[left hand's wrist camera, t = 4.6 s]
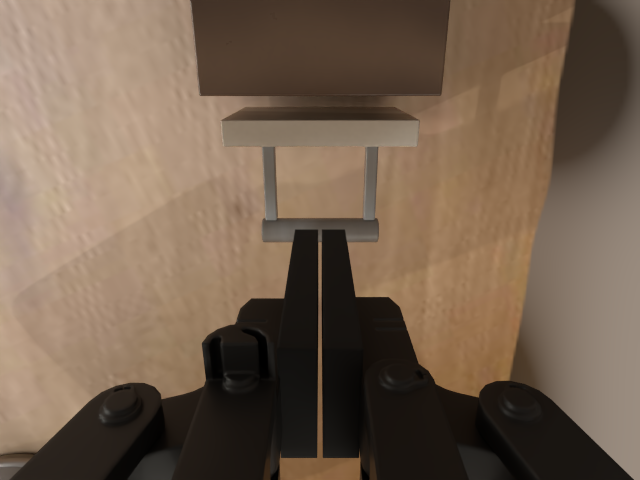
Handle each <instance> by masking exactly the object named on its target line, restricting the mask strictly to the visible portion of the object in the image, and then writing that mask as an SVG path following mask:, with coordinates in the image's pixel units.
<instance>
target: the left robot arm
mask: <svg viewBox="0 0 640 480" xmlns="http://www.w3.org/2000/svg"><path fill="white" fill-rule="evenodd" d="M202 348H203V357H204V365H205V374H206V382H205V385H204V387H202V388H199V389H197V390H195V391H193V392H190V393H186V394H183V395H179V396H174V397H170V398H166V399H161V394H160V393H159V392H158V390H157V389H156V388H155V387H153V386H151V385H148V384H145V383H127V384H123V385H118V386H115V387H112V388H110V389H108V390H106V391H104V392H101V393H100V394H99V395H97V396H96V397H95V398H93V399H92V400H91V401H89V402H88V403H87V404H86V405H85V406H84V407H83V408H82V409H81V410H80V411H79V412H78V413H77V414H76V415H75V416H74V417H73V418H72V419H71V420H70V421H69V422H68V423H67V424H66V425H65V426H64V427H63V428H62V429H61V430H60V431H59V432H58V433H57V434H56V435H55V436H53V437H52V438H51V439H50V440H49V441H48V442H47V443H46V444H45V445H44V446H43V447H42V448H41V449H40V450H39V451H38V452H37V453H36V454H35V455H33V454H7V455H1V456H0V480H280V464H279V461H280V452H281V458H317V405H318V229H295V233H294V239H293V246H292V252H291V258H290V265H289V271H288V278H287V284H286V291H285V297H284V299H250V300H249V301H248V302H247V303H246V304H245V305H244V306H243V307H242V308H240V311H239V314H238V317H237V322H236V324H235V325H229V326H226V327H223V328H220V329H217V330H216V331H214V332H213V333H211V334H209V335H208V336H207V337H206V339H205V340H204V341H203V343H202ZM322 404H323V458H359V449H360V459H361V464H360V480H634V479H633V478H631V476H629V475H628V474H627V473H626V472H625V471H624V470H623V469H622V468H621V467H620V466H619V465H618V464H617V463H616V462H615V461H614V460H613V459H612V458H611V457H610V456H609V455H608V454H607V453H606V452H605V451H604V450H603V449H602V448H601V447H600V446H599V445H597V444H596V443H595V442H594V441H593V440H592V439H591V438H590V437H589V436H588V435H587V434H586V433H585V432H584V431H583V430H582V429H581V428H580V427H579V426H578V425H577V424H576V423H575V422H574V421H573V420H572V419H571V418H570V417H569V416H568V415H567V414H565V412H563V411H562V410H561V409H560V408H559V407H558V406H557V405H556V404H555V403H554V402H553V401H552V400H551V399H550V398H548V397H547V396H546V395H544V394H543V393H542V392H540V391H539V390H537V389H534V388H532V387H530V386H528V385H525V384H522V383H517V382H512V381H495V382H493V383H490V384H487V385H485V387H484V388H483V389H482V390H481V391H480V394H479V398H478V397H474V396H469V395H465V394H460V393H456V392H453V391H450V390H447V389H444V388H442V387H440V386H438V385H436V384H435V381H434V379H433V377H432V376H431V374H430V373H429V371H428V370H426V369H425V368H424V367H422V366H421V365H419V364H418V361H417V358H416V355H415V352H414V349H413V346H412V343H411V340H410V337H409V334H408V331H407V328H406V325H405V322H404V321H403V316H402V313H401V310H400V307H399V306H398V305H397V304H396V303H395V302H393V301H392V300H391V299H390V298H389V297H355V291H354V284H353V278H352V271H351V265H350V258H349V252H348V246H347V239H346V233H345V229H322Z"/></svg>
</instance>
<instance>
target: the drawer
mask: <svg viewBox="0 0 640 480" xmlns="http://www.w3.org/2000/svg"><path fill="white" fill-rule="evenodd" d="M419 124H420V121H419V120H418V119H416V118H414V117H412V116H410V115H408V114H407V113H405V112H403V111H401V110H399V109H397V108H395V107H245V108H243V109H241V110H240V111H238V112H236V113H234V114H232V115H230V116H228V117H226V118H225V119H223V120H221V130H222V143H223V147H262V155H263V176H264V196H265V217H266V218H264V219H263V220H262V240H263V242H293V239H294V233H295V229H318V242H322V229H345V233H346V239H347V242H377V241H378V237H379V223H378V219H377V218H375V205H376V184H377V163H378V147H417V146H418V136H419ZM275 147H365V169H364V196H363V218H277V217H278V210H277V184H276V157H275Z"/></svg>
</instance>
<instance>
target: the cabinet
mask: <svg viewBox="0 0 640 480" xmlns="http://www.w3.org/2000/svg"><path fill="white" fill-rule="evenodd" d="M190 4H191V14H192V25H193V35H194V46H195V56H196V66H197V77H198V87H199V95H200V96H440V95H441V92H442V82H443V71H444V61H445V51H446V40H447V30H448V19H449V9H450V0H190Z"/></svg>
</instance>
